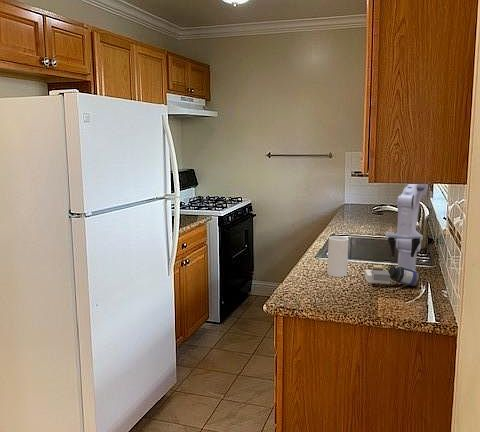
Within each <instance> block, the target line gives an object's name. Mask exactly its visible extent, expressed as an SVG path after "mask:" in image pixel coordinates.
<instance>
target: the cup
mask: <svg viewBox="0 0 480 432" xmlns="http://www.w3.org/2000/svg"><path fill="white" fill-rule="evenodd" d="M327 249H328V250H327V267H326V268H327V269H326V275H327V276H328V277H332V276H333V277H334V278H344V276H345V277H347V276H348V257H349V237H346V236H341V235H331V236H329V237H328V248H327Z"/></svg>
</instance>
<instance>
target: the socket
mask: <svg viewBox="0 0 480 432" xmlns="http://www.w3.org/2000/svg"><path fill="white" fill-rule="evenodd" d="M372 270H373V269H364V278H365V281H366V283H369V284H384V285H385V284H386V285H387V284H388V285H391V278H390V281H381V280H374V279H373V277H372Z"/></svg>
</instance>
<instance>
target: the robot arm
mask: <svg viewBox="0 0 480 432" xmlns="http://www.w3.org/2000/svg"><path fill="white" fill-rule="evenodd" d="M403 186H404V188H403V190H402V193H401V194H399V195H398V197H397V200H396V201H397V224H396V225H397V227H396V228H397V229H396V232H385V236H384V238H385V239H387V242H388V245H389V247H390V251H391V256H392V257H395V250H398V255H397V265H396V266H395V267H396V268H397V267H403V268H407V269H410V270H414V271H417V270H416V266H417V265H416V264H417V253H419V252H420V251H421V248H422V241H423V239H424V235H423V234H421V233H420V232H419V231H417V224H418V219H419V218H418V217H419V216H418V215H419V210H420V203H421V200H422V197H424V196H426V195H427V192H428V187H429V183H428V184H404V183H403ZM395 248H396V249H395Z"/></svg>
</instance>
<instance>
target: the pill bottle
mask: <svg viewBox="0 0 480 432" xmlns="http://www.w3.org/2000/svg"><path fill="white" fill-rule="evenodd" d="M387 271H388V272H389V274H390V278H391V279H393V280H394V281H395V282H396V283H400V284H404V285H408V286H411V287H417V286H418V285H419V284H420V280H421V273H420V272H419V271H417V270H416V271H414V270H410V269H407V268H403V267H397V268H396V266H390V267H389V269H388V270H387Z"/></svg>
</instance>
